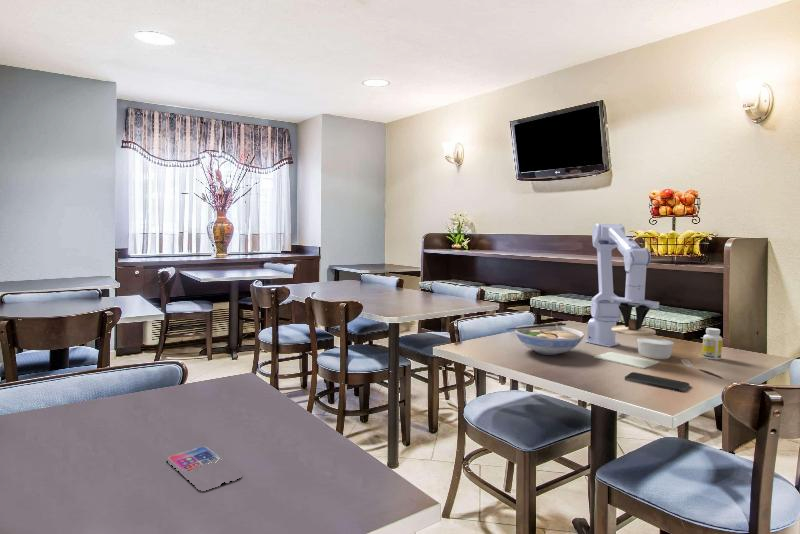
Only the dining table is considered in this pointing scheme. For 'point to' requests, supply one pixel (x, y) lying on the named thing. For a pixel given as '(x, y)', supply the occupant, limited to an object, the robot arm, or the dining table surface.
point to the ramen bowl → (549, 338)
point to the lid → (633, 329)
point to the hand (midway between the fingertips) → (632, 327)
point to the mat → (626, 360)
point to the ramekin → (655, 348)
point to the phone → (657, 382)
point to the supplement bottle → (712, 344)
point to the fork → (700, 369)
